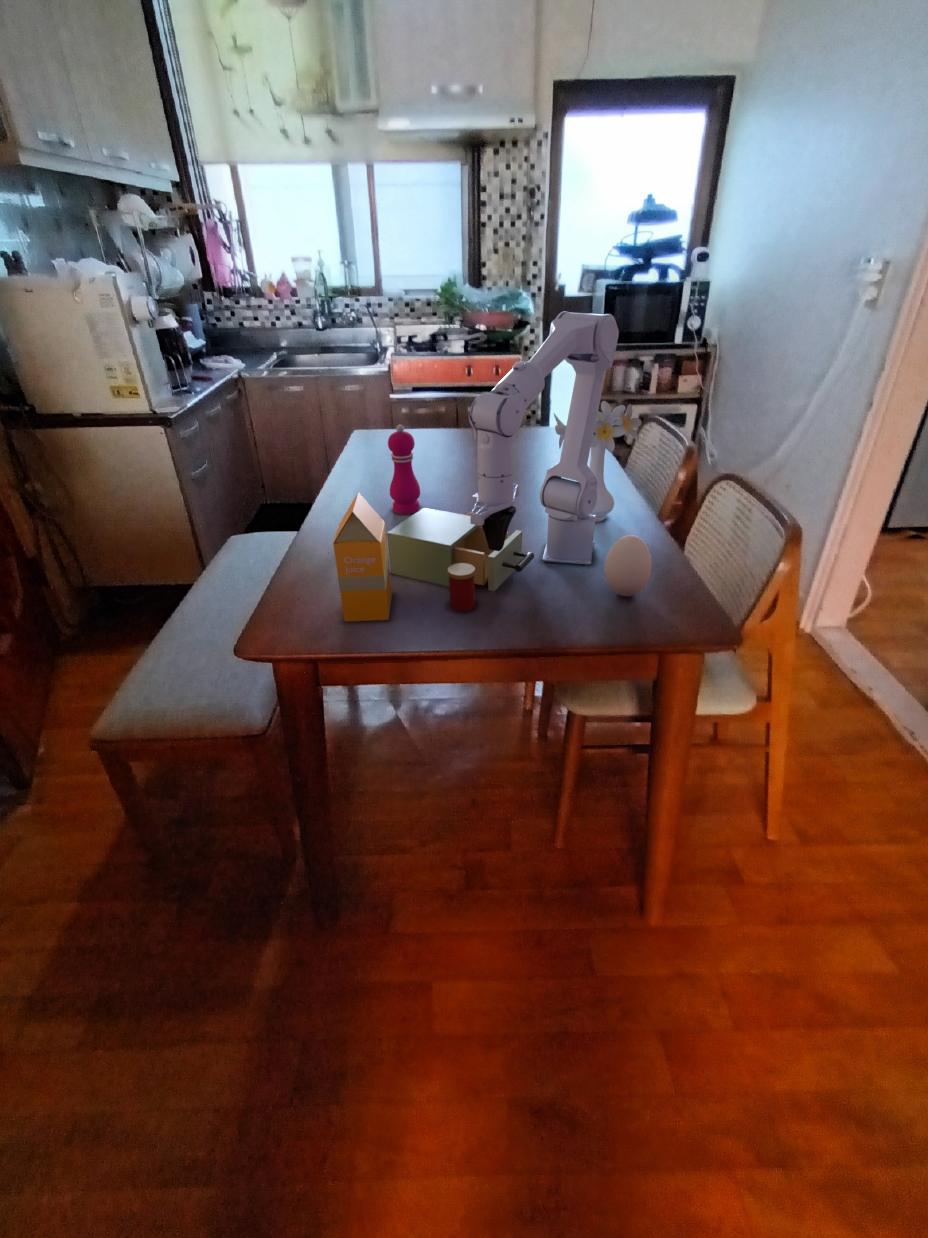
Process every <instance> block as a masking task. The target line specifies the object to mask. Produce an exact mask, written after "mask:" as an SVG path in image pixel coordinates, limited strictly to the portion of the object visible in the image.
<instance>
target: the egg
mask: <svg viewBox="0 0 928 1238" xmlns="http://www.w3.org/2000/svg"><path fill="white" fill-rule="evenodd" d="M652 563H653V562H652V556H651V552H650V548H649V547H648V546H647V544H646V542H645V541H644V539H642V538H641V537H640V536H638V535H635V534H626V535H623V536H621V537H620V538H619V539H618V540H616V541H615V542H614V544H613V545H612V546H611V547H610V549H609V551H608V553H607V555H606V558H605V562H604V571H603V572H604V577H605V581H606V583H607V586H608V587H609V589H610V590H612V591H613V592H614V593H615V594H617V595H619V596H622V597H630V596H634V595H636V594H638V593H639V592H640V591H642V590H643V589H644V588H645V587H646V586H647V584H648V582H649V581H650V577H651V574H652V568H653V567H652V566H653V564H652Z"/></svg>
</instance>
